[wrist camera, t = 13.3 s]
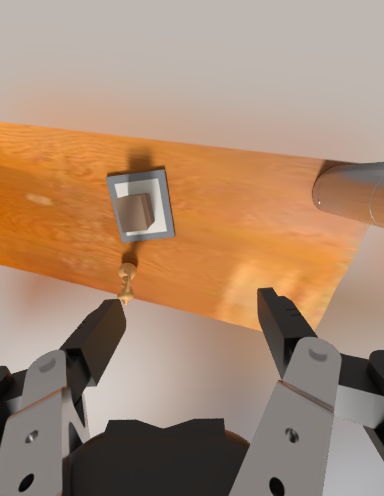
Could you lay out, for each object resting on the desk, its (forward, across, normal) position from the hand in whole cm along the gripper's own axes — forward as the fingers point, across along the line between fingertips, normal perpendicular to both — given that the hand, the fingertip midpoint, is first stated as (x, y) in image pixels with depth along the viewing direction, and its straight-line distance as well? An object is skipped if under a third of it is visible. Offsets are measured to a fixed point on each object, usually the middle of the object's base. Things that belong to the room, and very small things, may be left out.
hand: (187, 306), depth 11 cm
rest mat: (+32, +12, -3) cm, 34 cm away
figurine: (+32, +17, +11) cm, 38 cm away
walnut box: (+31, +12, -2) cm, 33 cm away
